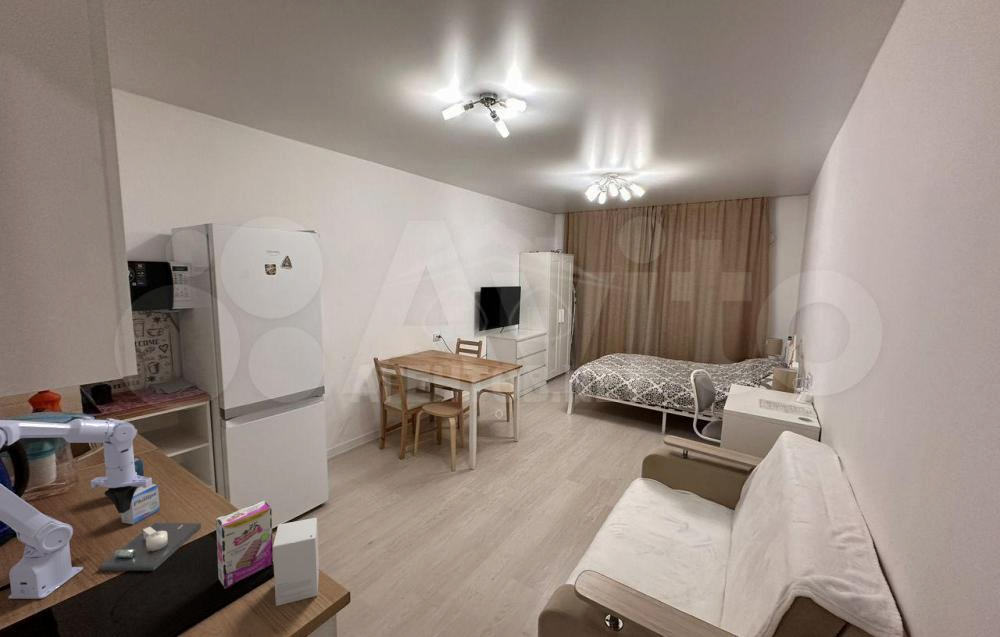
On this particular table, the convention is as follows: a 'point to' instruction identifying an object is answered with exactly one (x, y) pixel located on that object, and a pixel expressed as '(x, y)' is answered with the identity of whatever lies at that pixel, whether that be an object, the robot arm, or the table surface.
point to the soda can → (138, 466)
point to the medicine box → (142, 504)
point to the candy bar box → (244, 543)
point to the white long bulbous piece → (154, 538)
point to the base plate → (143, 560)
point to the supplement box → (296, 561)
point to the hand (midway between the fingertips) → (124, 510)
